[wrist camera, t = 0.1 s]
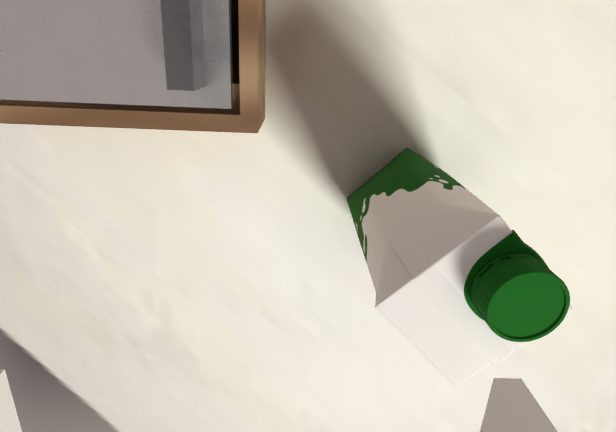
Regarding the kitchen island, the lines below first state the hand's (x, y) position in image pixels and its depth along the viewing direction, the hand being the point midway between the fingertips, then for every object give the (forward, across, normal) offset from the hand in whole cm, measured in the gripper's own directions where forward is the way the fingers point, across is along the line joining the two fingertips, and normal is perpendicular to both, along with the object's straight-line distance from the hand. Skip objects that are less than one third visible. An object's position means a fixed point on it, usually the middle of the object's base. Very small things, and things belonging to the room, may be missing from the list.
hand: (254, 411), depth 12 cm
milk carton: (+28, +11, -3) cm, 30 cm away
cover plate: (+22, -12, +11) cm, 27 cm away
